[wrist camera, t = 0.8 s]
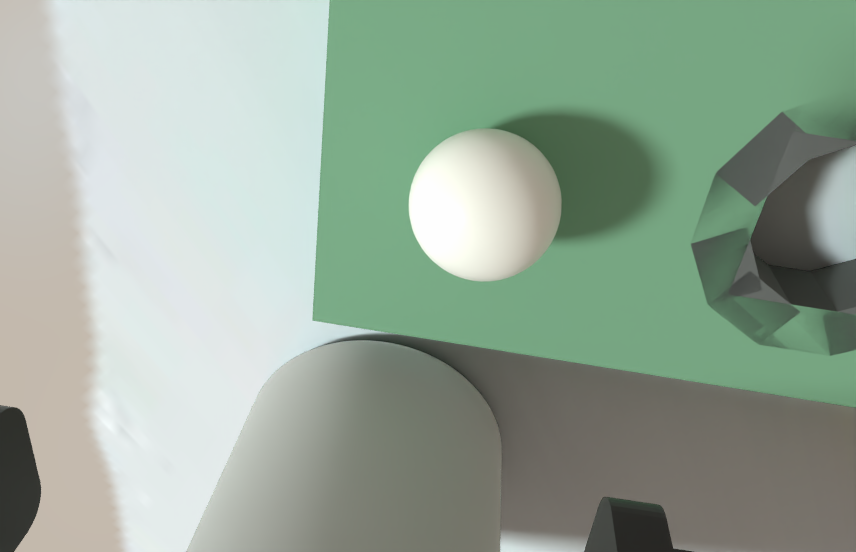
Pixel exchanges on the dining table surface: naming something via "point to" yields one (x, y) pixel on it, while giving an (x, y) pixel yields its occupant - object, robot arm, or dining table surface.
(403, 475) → the cylinder vase
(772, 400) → the dining table surface
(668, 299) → the green flat slab
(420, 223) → the ball
